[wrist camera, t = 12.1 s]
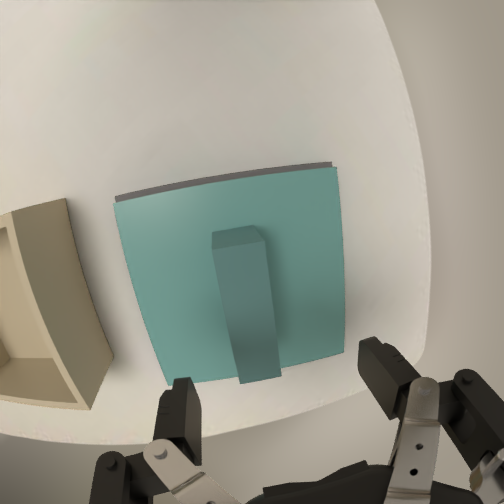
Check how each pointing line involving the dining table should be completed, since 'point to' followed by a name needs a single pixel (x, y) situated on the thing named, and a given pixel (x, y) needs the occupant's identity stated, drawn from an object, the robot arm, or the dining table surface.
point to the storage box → (47, 313)
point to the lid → (239, 273)
